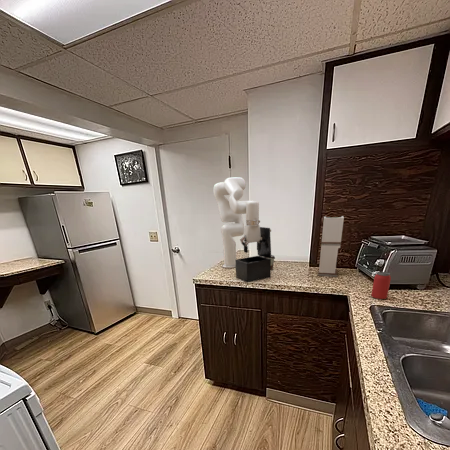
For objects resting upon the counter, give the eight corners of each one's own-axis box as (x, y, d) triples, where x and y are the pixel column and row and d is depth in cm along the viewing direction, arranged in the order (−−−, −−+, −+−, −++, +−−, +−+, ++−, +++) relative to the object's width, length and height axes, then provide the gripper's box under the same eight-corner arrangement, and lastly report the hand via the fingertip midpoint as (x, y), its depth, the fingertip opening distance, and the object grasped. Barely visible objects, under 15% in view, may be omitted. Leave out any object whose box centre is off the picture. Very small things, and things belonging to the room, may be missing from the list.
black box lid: (268, 228, 147) (275, 226, 149) (255, 226, 159) (262, 225, 160) (270, 258, 155) (276, 256, 157) (257, 255, 166) (263, 253, 168)
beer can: (386, 300, 116) (391, 276, 111) (370, 298, 119) (374, 274, 114) (386, 296, 121) (391, 272, 116) (371, 294, 124) (375, 270, 120)
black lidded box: (247, 282, 152) (246, 263, 148) (236, 277, 163) (235, 259, 159) (270, 277, 159) (270, 259, 155) (258, 272, 171) (258, 255, 166)
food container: (274, 267, 180) (274, 254, 177) (274, 270, 175) (275, 256, 171) (257, 268, 182) (257, 254, 178) (257, 270, 176) (257, 256, 172)
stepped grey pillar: (336, 276, 153) (343, 217, 140) (318, 275, 157) (323, 218, 144) (336, 271, 163) (343, 216, 150) (319, 270, 167) (324, 216, 154)
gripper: (260, 221, 155) (260, 248, 162) (236, 223, 148) (237, 252, 155) (267, 222, 149) (267, 250, 156) (243, 224, 142) (243, 254, 149)
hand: (252, 251), depth 156 cm, fingers open, 9 cm apart
